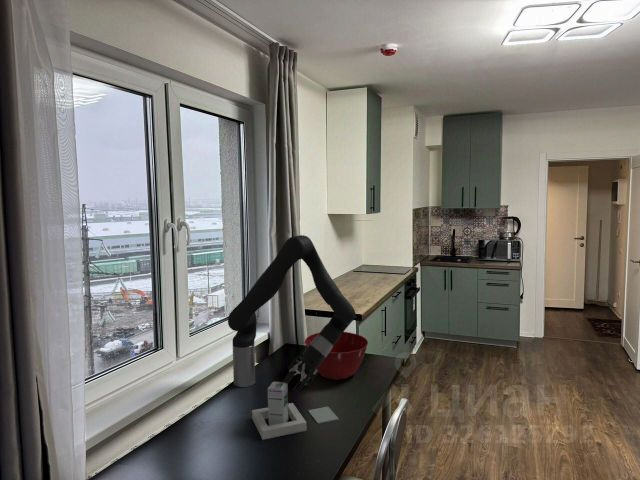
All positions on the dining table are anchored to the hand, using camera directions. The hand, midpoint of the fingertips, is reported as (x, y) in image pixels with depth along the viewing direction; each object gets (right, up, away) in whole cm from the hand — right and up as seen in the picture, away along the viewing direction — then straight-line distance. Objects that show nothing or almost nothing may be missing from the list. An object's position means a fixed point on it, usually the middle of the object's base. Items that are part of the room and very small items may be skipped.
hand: (290, 386), depth 161 cm
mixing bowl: (+18, -8, +43) cm, 48 cm away
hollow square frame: (-4, -13, -1) cm, 14 cm away
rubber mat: (+12, -12, +5) cm, 18 cm away
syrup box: (-4, -13, -1) cm, 14 cm away
